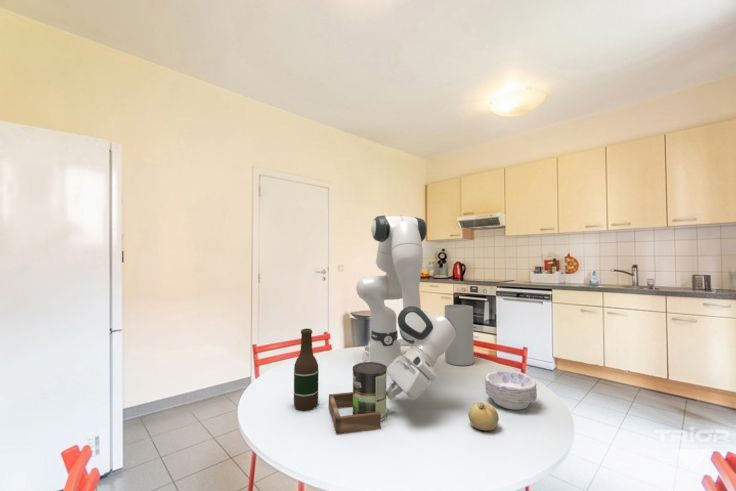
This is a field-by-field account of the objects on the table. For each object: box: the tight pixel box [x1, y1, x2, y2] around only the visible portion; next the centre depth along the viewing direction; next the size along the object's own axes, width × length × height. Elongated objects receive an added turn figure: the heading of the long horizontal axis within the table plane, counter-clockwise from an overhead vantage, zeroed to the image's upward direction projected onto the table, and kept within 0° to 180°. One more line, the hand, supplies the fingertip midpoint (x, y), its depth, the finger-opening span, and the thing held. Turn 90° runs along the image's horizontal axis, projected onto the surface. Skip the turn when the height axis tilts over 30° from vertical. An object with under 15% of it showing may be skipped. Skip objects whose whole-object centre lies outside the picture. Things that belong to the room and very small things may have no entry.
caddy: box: [328, 391, 382, 435], centre depth 96 cm, size 16×12×4 cm
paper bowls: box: [484, 370, 538, 411], centre depth 105 cm, size 15×15×8 cm
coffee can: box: [352, 361, 388, 422], centre depth 98 cm, size 10×10×14 cm
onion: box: [467, 401, 500, 431], centre depth 91 cm, size 8×8×7 cm
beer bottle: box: [293, 328, 319, 412], centre depth 104 cm, size 8×8×24 cm
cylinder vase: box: [444, 304, 475, 367], centre depth 149 cm, size 12×12×25 cm
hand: (387, 396), depth 99 cm, fingers closed, pressing on coffee can
